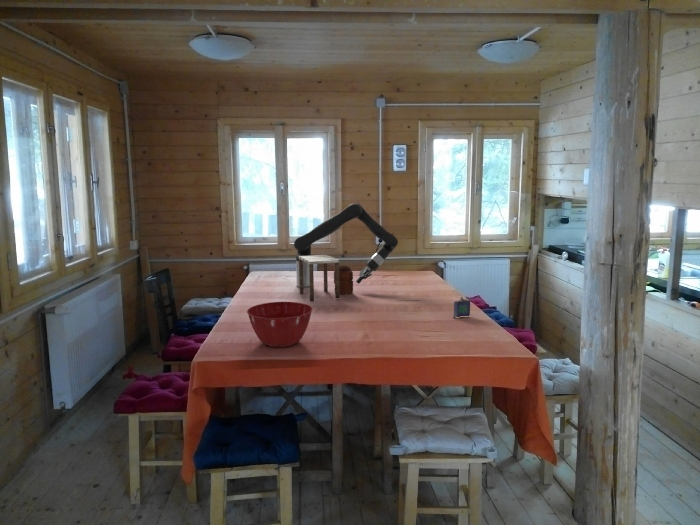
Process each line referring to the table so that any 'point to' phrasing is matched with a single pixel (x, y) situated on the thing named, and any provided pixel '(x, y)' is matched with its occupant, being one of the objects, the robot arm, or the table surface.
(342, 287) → the wooden figurine
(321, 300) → the table surface
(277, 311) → the mixing bowl
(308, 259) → the stand
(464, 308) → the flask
